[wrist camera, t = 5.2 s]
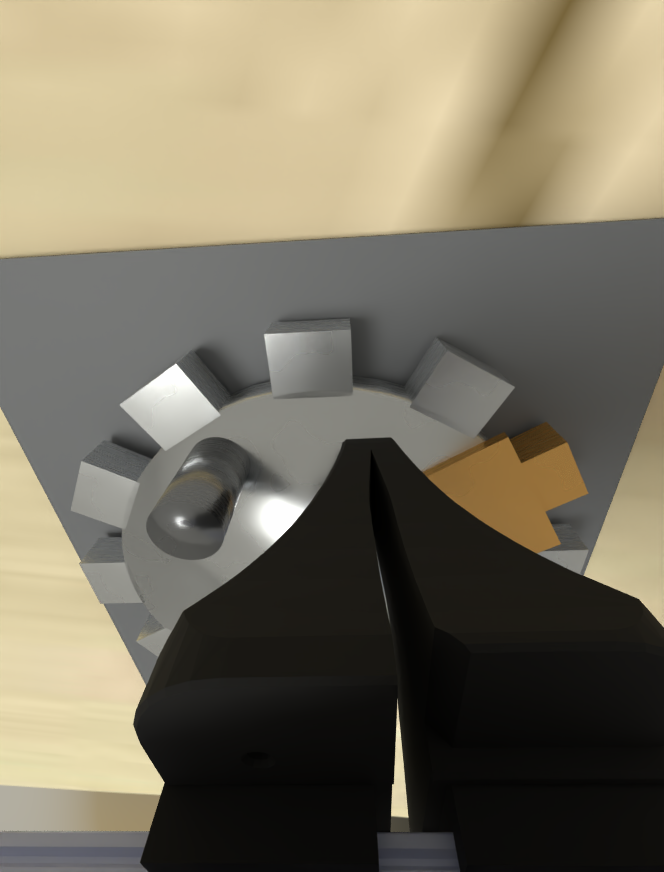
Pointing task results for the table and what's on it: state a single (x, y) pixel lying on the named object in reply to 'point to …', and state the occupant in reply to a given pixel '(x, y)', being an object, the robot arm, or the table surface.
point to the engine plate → (370, 340)
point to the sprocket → (301, 464)
